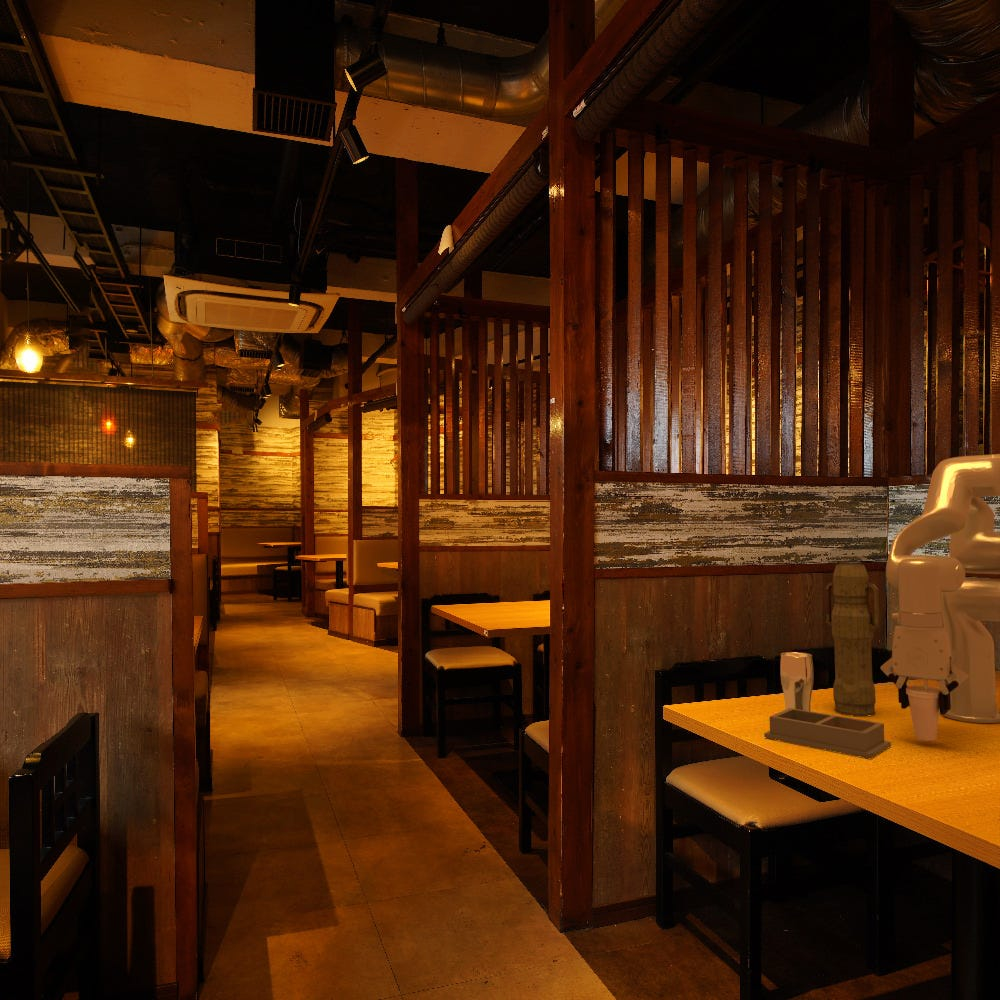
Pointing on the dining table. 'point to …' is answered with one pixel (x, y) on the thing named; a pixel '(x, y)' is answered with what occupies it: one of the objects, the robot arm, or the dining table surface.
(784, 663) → the beer glass
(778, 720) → the drink carrier
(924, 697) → the smoothie
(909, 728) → the dining table surface
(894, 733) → the dining table surface
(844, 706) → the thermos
